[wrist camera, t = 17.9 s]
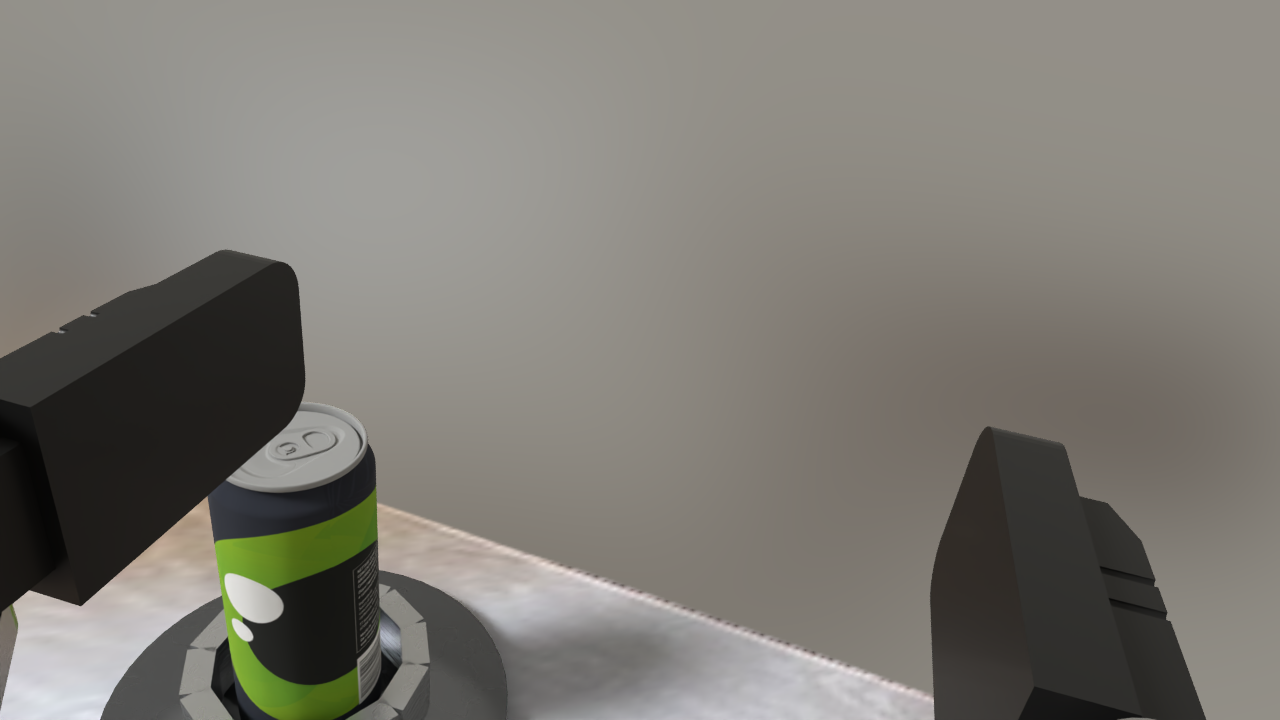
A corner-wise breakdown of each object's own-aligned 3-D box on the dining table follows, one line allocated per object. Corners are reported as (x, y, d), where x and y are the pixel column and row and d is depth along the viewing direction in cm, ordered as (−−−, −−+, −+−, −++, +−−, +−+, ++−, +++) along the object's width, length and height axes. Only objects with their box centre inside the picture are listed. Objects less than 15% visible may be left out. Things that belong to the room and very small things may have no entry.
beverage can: (344, 633, 46) (330, 383, 39) (406, 715, 42) (404, 455, 35) (219, 692, 42) (176, 426, 35) (274, 789, 38) (240, 513, 31)
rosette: (555, 634, 49) (561, 577, 47) (400, 977, 34) (399, 913, 32) (259, 550, 52) (253, 492, 50) (-9, 831, 36) (-35, 764, 34)
